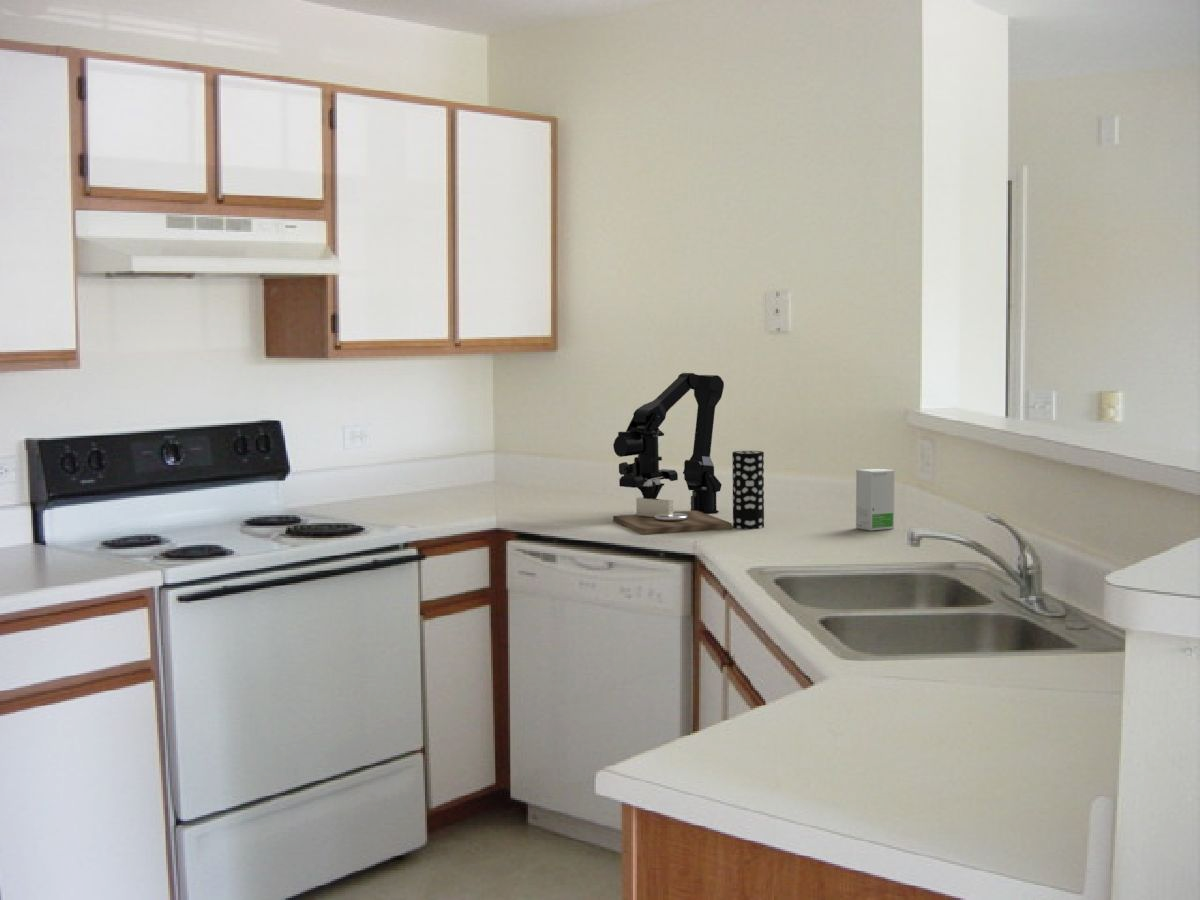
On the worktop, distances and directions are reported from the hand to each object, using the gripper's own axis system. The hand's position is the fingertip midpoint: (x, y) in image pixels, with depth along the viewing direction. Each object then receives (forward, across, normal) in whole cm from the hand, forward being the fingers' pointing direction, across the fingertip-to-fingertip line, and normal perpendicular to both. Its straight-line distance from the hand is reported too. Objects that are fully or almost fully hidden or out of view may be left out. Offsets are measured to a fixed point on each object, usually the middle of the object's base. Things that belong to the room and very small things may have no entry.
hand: (649, 509), depth 365 cm
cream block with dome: (+1, +3, +6) cm, 7 cm away
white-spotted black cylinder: (+4, -8, +28) cm, 30 cm away
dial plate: (+3, +3, +10) cm, 11 cm away
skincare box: (+4, -25, +57) cm, 62 cm away
